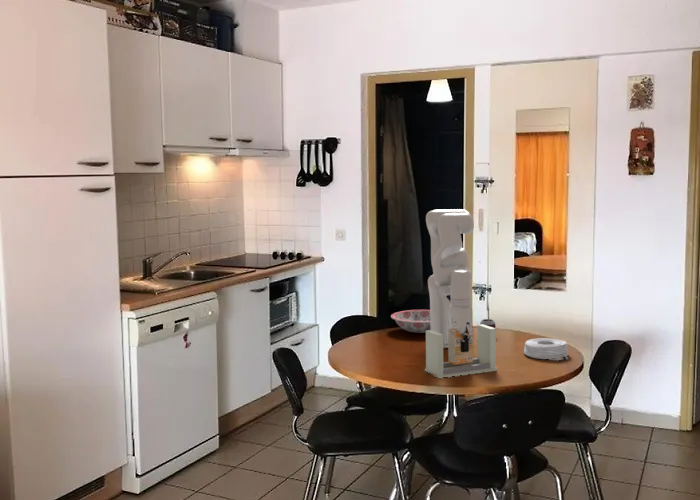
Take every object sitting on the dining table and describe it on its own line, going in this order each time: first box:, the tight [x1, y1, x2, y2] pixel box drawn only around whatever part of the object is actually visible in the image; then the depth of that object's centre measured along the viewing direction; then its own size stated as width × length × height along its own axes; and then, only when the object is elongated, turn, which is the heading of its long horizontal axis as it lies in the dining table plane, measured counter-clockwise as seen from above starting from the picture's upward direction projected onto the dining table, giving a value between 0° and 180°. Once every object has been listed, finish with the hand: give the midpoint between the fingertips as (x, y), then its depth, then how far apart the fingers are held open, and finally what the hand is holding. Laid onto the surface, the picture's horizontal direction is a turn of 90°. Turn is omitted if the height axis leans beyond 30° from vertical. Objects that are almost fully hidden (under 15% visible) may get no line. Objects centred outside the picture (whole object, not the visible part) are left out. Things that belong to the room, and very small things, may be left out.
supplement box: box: [447, 328, 474, 365], centre depth 274 cm, size 8×5×13 cm, turn 113°
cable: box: [523, 337, 569, 361], centre depth 296 cm, size 18×18×6 cm
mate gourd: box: [479, 302, 497, 328], centre depth 330 cm, size 8×8×15 cm
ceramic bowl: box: [390, 309, 430, 334], centre depth 344 cm, size 29×29×8 cm
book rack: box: [424, 323, 498, 379], centre depth 274 cm, size 11×25×16 cm, turn 112°
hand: (460, 349), depth 274 cm, fingers closed on supplement box, 4 cm apart
